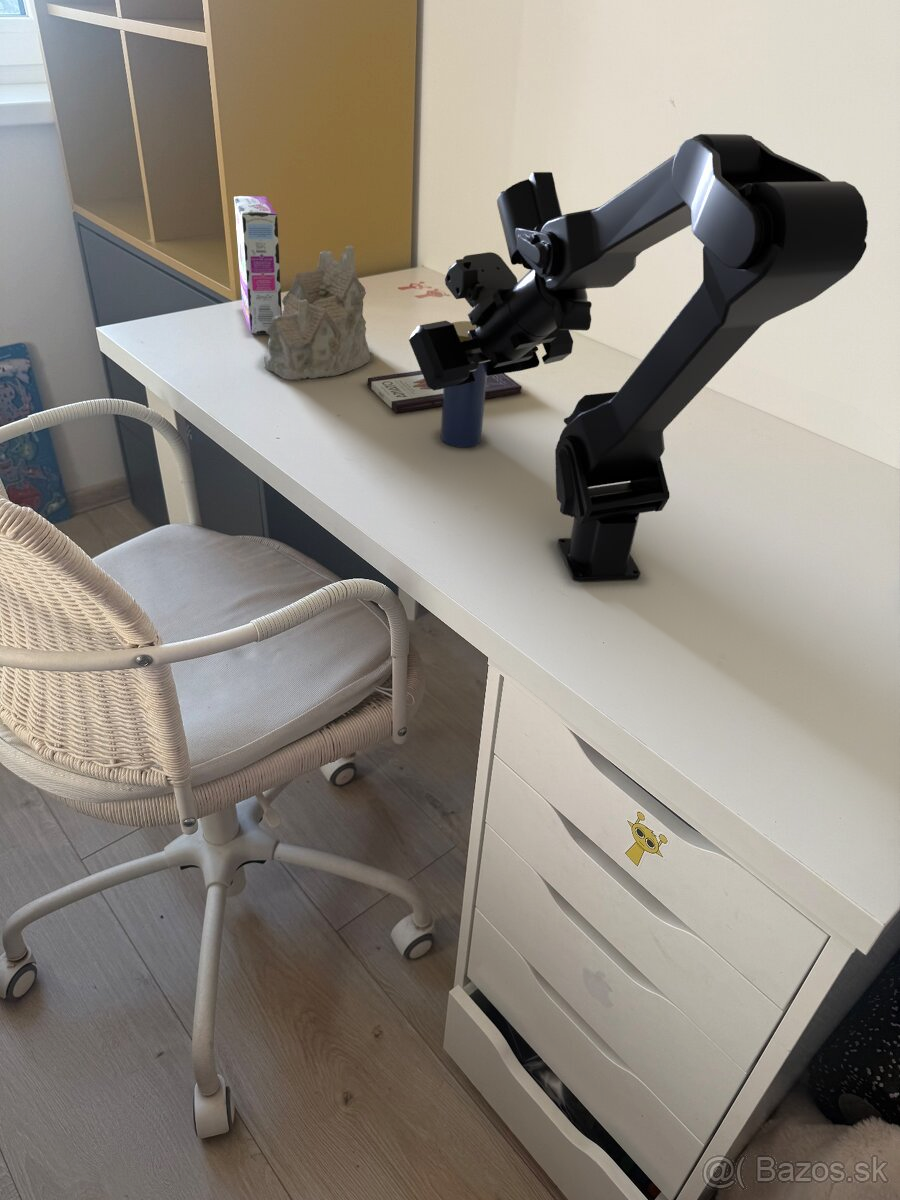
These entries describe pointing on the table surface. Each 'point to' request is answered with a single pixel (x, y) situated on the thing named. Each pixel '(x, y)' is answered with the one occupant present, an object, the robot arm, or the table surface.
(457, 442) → the blue canister
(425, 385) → the chocolate bar
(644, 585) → the table surface
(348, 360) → the ceramic cottage
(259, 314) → the candy bar box
